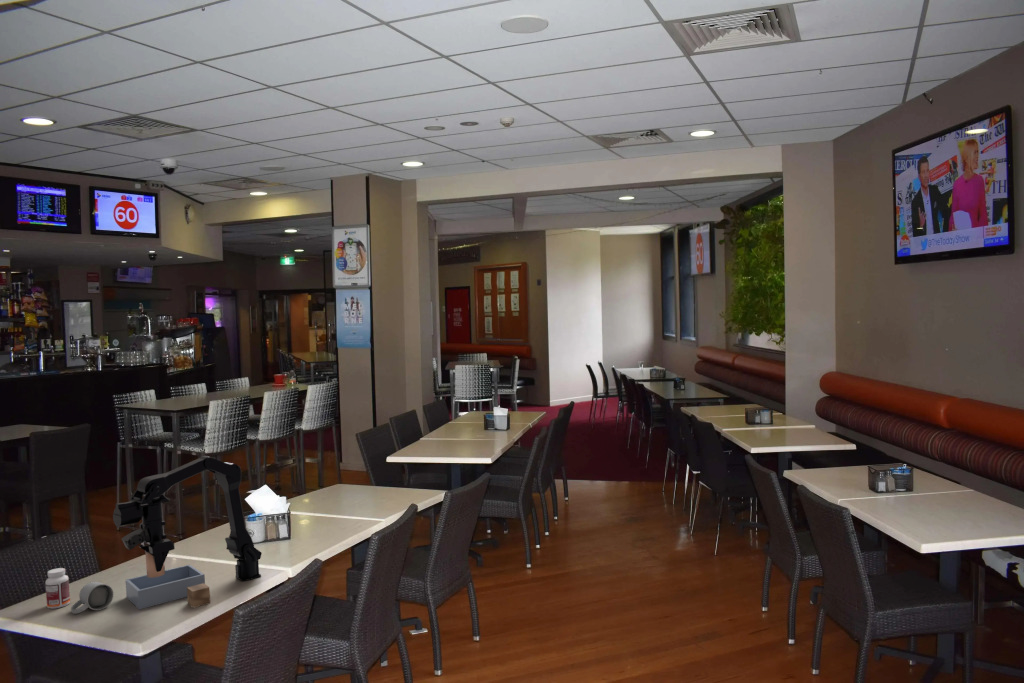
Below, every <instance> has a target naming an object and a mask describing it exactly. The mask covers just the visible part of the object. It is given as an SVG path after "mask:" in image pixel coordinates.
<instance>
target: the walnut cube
mask: <svg viewBox="0 0 1024 683" xmlns="http://www.w3.org/2000/svg"><path fill="white" fill-rule="evenodd" d="M187 595H188V596H187V604H188V605H190V607H192V608H193V609H194V608H197V607H201V606H206V605H208V604H210V603H211V592H210V586H208V585H207V584H206V583H205V584H204V583H203V584H199V585H195V586H191V587H187Z"/></svg>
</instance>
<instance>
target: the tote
mask: <svg viewBox="0 0 1024 683" xmlns="http://www.w3.org/2000/svg"><path fill="white" fill-rule="evenodd" d="M205 578H206V576H205V573H203V572H202V571H200V570H199V569H197V568H196V567H194V565H191V564H186V565H182V566H177V567H173V568H169V569H165V574H164V575H162V576H159V577H153V578H149V577H147V574H145V575H140V576H136V577H131V578H127V579H125V594H126V596H125V597H126V598H127V599H128V600H129V601H130V602H131V603H132V605H134V606H135V607H136V608H137V609H138V610H141V609H145V608H149V607H152V606H156V605H160V604H165V603H168V602H171V601H176V600H179V599H180V600H181V599H184V598H188V595H187V587H191V586H195V585H199V584H203V583H204V584H206V581H205Z"/></svg>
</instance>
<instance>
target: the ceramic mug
mask: <svg viewBox="0 0 1024 683" xmlns="http://www.w3.org/2000/svg"><path fill="white" fill-rule="evenodd" d="M78 596H79V600H77V601H76V602H75V603H73V604H72V605H71V607H70V611H71V613H72V614H73V615H77V614H80V613H82V612H84V611H85V610H87V609H88V608H89V609H91V610H92V611H101V610H102V611H103V609H105V608H107V607H108V606H109V605H111V603H112V601H113V600H114V599H113V598H114V590H113V588H112V587H111V585H109V584H107V583H104V582H103V583H102V582H99V581H92V582H89V583H86V584H85V585H84V586H82V588H81V589H80V592H79V595H78Z"/></svg>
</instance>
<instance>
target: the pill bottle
mask: <svg viewBox="0 0 1024 683" xmlns="http://www.w3.org/2000/svg"><path fill="white" fill-rule="evenodd" d="M47 577H48V578H47V579H46V580H45V583H44V584H45V595H46V596H45V597H46V606H47V608H48V609H51V610H54V609H60V608H64V607H66V606H68V605H70V603H71V595H70V593H71V592H70V582H69V581H70V580H69V579H70V578H69V576H68V575H66V568H63V567H59V568H58V567H57V568H53V569H50V570H48V571H47Z"/></svg>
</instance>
